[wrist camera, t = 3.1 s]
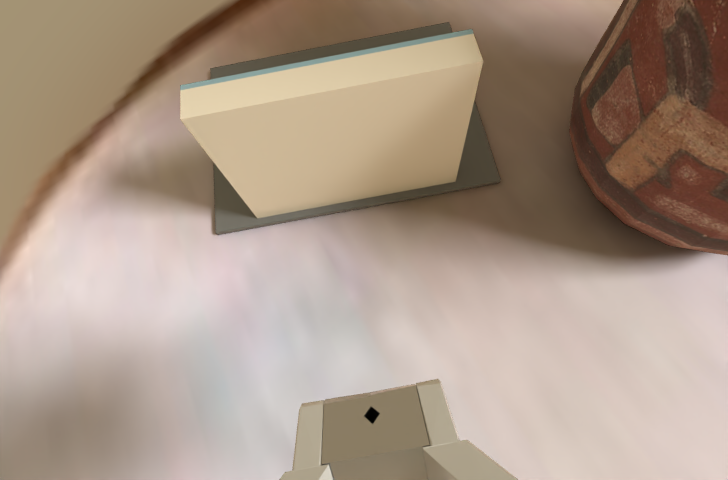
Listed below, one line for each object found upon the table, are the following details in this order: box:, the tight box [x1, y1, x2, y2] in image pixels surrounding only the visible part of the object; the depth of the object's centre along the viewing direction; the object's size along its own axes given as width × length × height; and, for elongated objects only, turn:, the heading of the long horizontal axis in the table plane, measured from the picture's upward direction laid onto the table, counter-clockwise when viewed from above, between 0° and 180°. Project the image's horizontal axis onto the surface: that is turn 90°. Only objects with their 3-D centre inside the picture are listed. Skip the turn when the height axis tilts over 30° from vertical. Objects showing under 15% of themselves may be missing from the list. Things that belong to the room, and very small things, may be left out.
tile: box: [180, 29, 483, 218], centre depth 25 cm, size 14×2×11 cm, turn 99°
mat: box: [210, 22, 500, 235], centre depth 32 cm, size 20×15×1 cm
